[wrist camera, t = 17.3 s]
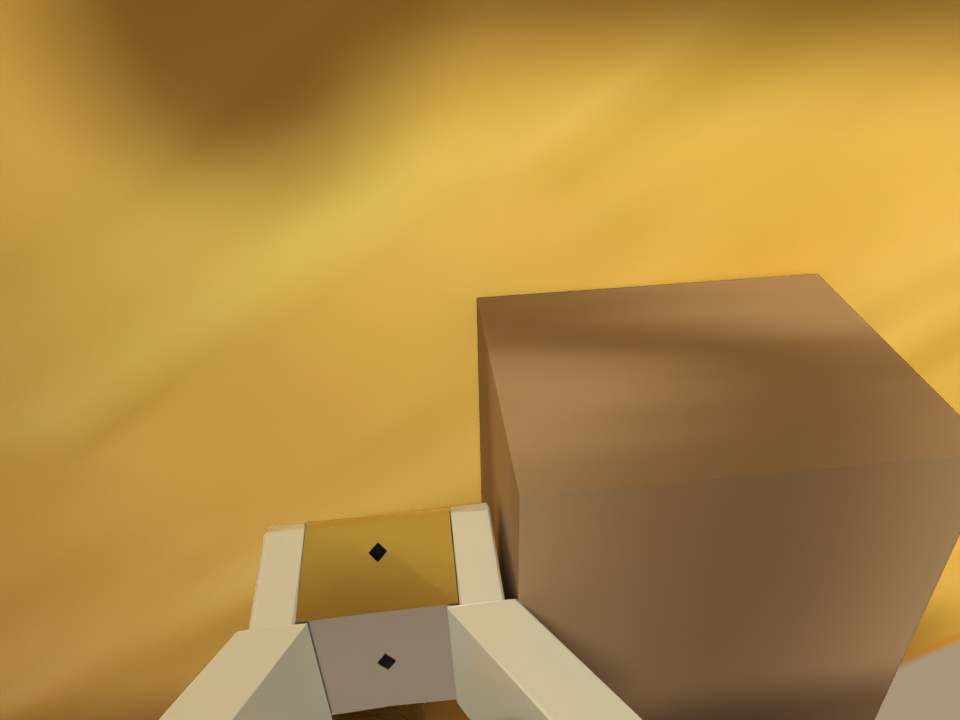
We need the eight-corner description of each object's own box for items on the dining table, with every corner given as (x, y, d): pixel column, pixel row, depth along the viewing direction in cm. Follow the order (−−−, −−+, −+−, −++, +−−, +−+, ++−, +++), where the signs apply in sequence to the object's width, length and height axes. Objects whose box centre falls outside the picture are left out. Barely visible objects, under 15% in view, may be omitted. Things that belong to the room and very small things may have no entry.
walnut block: (482, 544, 14) (515, 769, 10) (476, 298, 11) (519, 497, 8) (756, 518, 14) (871, 726, 11) (817, 273, 11) (997, 452, 8)
